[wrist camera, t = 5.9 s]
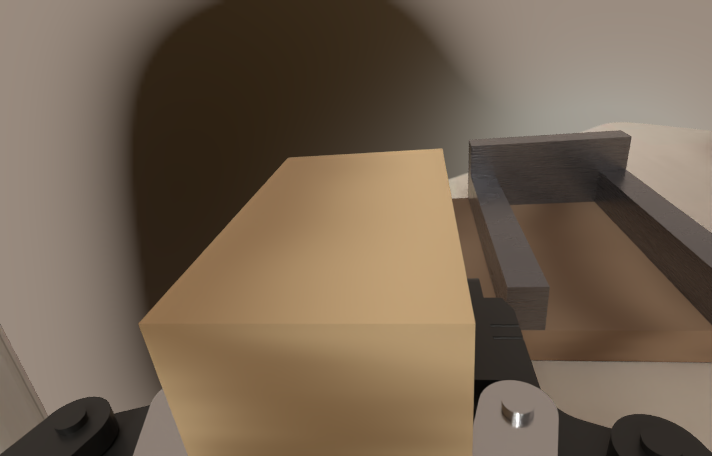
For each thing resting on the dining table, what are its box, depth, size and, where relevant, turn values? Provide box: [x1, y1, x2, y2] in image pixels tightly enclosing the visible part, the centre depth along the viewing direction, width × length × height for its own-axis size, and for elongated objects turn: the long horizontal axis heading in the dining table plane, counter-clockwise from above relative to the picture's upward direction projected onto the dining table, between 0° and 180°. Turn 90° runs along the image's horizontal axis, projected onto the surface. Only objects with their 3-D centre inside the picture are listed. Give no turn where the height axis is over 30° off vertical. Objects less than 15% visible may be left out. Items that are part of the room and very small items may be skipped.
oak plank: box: [138, 149, 475, 456], centre depth 10 cm, size 4×7×10 cm, turn 173°
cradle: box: [452, 131, 712, 362], centre depth 22 cm, size 13×14×6 cm
